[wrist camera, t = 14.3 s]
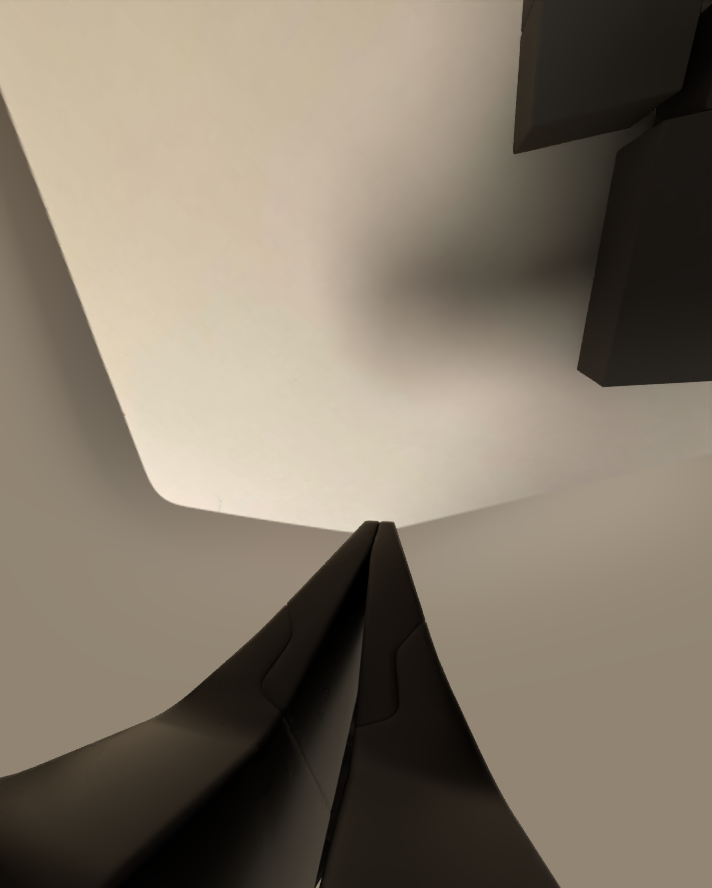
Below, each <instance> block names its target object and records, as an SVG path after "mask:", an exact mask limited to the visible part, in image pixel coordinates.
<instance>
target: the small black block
mask: <svg viewBox="0 0 712 888" xmlns="http://www.w3.org/2000/svg"><path fill="white" fill-rule="evenodd" d="M577 370H578V371H580V372H581V373H583V374H584V375H586V376H587V377H589V378H590V379H592V380H593V381H595V382H596V383H598V384H599V385H601V386H602V387H612V386H629V385H647V384H665V383H683V382H701V381H712V4H711V5H710V6H709V7H708V8H707V9H706V10H705V11H704V12H703V13H702V14H701V15H700V16H699V19H698V23H697V27H696V32H695V36H694V40H693V44H692V48H691V53H690V57H689V61H688V65H687V70H686V74H685V78H684V82H683V86H682V89H681V90H680V91H679V92H677V93H676V94H675V95H673V96H672V97H671V98H669V99H668V100H667V101H665V102H664V103H663V104H661V105H660V106H659V107H658V110H657V114H656V119H655V124H654V127H653V128H652V129H650V130H649V131H647V132H646V133H644V134H643V135H641V136H640V137H638V138H637V139H635V140H634V141H632V142H631V143H629V144H628V145H626V146H625V147H623V148H622V149H620V150H619V151H618V152H617V155H616V161H615V166H614V171H613V177H612V182H611V188H610V193H609V199H608V204H607V210H606V215H605V220H604V226H603V231H602V237H601V242H600V248H599V253H598V259H597V264H596V269H595V275H594V280H593V286H592V291H591V297H590V302H589V308H588V313H587V318H586V324H585V329H584V335H583V340H582V346H581V351H580V357H579V362H578V367H577Z"/></svg>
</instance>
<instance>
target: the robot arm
mask: <svg viewBox="0 0 712 888" xmlns="http://www.w3.org/2000/svg"><path fill="white" fill-rule="evenodd" d="M321 878H322V879H321ZM320 879H321V883H320V887H319V888H560V886H559V885H558V883H557V881H556V880H555V878H554V877H553V875H552V874H551V872H550V871H549V869H548V867H547V866H546V864H545V863H544V861H543V860H542V858H541V856H540V855H539V853H538V852H537V850H536V849H535V847H534V845H533V844H532V842H531V841H530V839H529V838H528V836H527V835H526V833H525V831H524V830H523V828H522V827H521V825H520V824H519V822H518V821H517V819H516V817H515V816H514V814H513V813H512V811H511V809H510V808H509V806H508V804H507V803H506V801H505V799H504V797H503V795H502V794H501V792H500V790H499V788H498V786H497V784H496V783H495V780H494V778H493V777H492V775H491V773H490V771H489V769H488V767H487V764H486V762H485V760H484V758H483V756H482V754H481V752H480V750H479V748H478V745H477V744H476V741H475V739H474V737H473V735H472V732H471V730H470V728H469V726H468V724H467V722H466V719H465V717H464V715H463V713H462V711H461V709H460V707H459V704H458V702H457V700H456V698H455V696H454V694H453V691H452V689H451V687H450V685H449V682H448V680H447V678H446V675H445V673H444V671H443V668H442V666H441V663H440V661H439V659H438V656H437V653H436V650H435V647H434V645H433V642H432V639H431V636H430V633H429V629H428V627H427V623H426V622H425V617H424V615H423V611H422V608H421V605H420V602H419V598H418V596H417V592H416V589H415V586H414V583H413V580H412V576H411V573H410V570H409V567H408V564H407V561H406V557H405V554H404V551H403V548H402V545H401V542H400V539H399V535H398V532H397V529H396V526H395V523H394V522H389V521H381V522H378V521H365V522H364V523H363V524H362V525H361V526H360V527H359V528H358V529H357V530H356V531H355V532H354V533H353V534H352V536H351V537H350V538H349V539H348V540H347V541H346V542H345V543H344V544H343V545H342V546H341V547H340V548H339V549H338V550H337V551H336V552H335V553H334V554H333V555H332V557H331V558H330V559H329V560H328V561H327V562H326V563H325V564H324V565H323V566H322V567H321V568H320V569H319V570H318V571H317V572H316V573H315V574H314V575H313V576H312V578H311V579H310V580H309V581H308V582H307V583H306V584H305V585H304V586H303V587H302V588H301V589H300V590H299V591H298V592H297V593H296V594H295V595H294V596H293V597H292V598H291V599H290V601H289V602H288V603H287V605H285V606H284V607H283V608H282V609H281V610H280V611H279V612H278V613H277V614H276V615H275V616H274V617H273V618H272V619H271V620H270V621H269V622H268V623H267V624H266V625H265V626H264V627H263V628H262V629H261V630H260V631H259V632H258V633H257V634H256V635H255V636H254V637H253V638H252V639H250V640H249V642H247V643H246V644H245V645H244V646H243V647H242V648H241V649H239V650H238V651H237V652H236V653H235V654H234V655H233V656H232V657H231V658H229V659H228V660H227V661H226V662H225V663H224V664H223V665H221V666H220V667H219V668H218V669H217V670H216V671H215V672H213V673H212V674H211V675H210V676H209V677H208V678H207V679H205V680H204V681H203V682H202V683H201V684H200V685H198V686H197V687H196V688H195V689H194V690H193V691H192V692H191V693H189V694H188V695H187V696H186V697H184V698H183V699H182V700H181V701H179V702H178V703H177V704H175V705H174V706H172V707H171V708H169V709H168V710H166V711H165V712H163V713H162V714H159V715H158V716H156V717H154V718H152V719H150V720H147V721H145V722H143V723H140V724H138V725H135V726H133V727H130V728H128V729H126V730H123V731H121V732H118V733H116V734H113V735H111V736H108V737H106V738H104V739H101V740H99V741H96V742H94V743H92V744H89V745H87V746H84V747H82V748H79V749H77V750H75V751H72V752H69V753H67V754H65V755H62V756H60V757H57V758H55V759H52V760H50V761H48V762H45V763H43V764H40V765H38V766H36V767H33V768H30V769H27V770H25V771H22V772H19V773H16V774H13V775H9V776H5V777H1V778H0V888H316V886H317V884H318V882H319V881H320Z"/></svg>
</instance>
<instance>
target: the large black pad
mask: <svg viewBox="0 0 712 888" xmlns="http://www.w3.org/2000/svg"><path fill="white" fill-rule="evenodd" d="M702 2H703V0H523V14H522V28H521V31H522V36H521V43H520V57H519V72H518V86H517V101H516V115H515V130H514V145H513V154H517V153H522V152H526V151H530V150H535V149H539V148H543V147H548V146H552V145H556V144H561V143H565V142H570V141H574V140H578V139H583V138H587V137H591V136H596V135H600V134H604V133H609V132H613V131H617V130H622V129H626V128H630V127H632V126H633V125H634V124H636V123H637V122H638V121H640V120H641V119H642V118H644V117H645V116H646V115H648V114H649V113H651V112H652V111H653V110H655V109H656V108H657V107H659V106H660V105H661V104H663V103H664V102H665V101H667V100H668V99H669V98H671V97H672V96H673V95H675V94H676V93H677V92H679V91H680V90H681V89H682V86H683V82H684V78H685V74H686V70H687V65H688V61H689V57H690V53H691V48H692V44H693V40H694V36H695V32H696V27H697V23H698V19H699V15H700V11H701V6H702Z"/></svg>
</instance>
